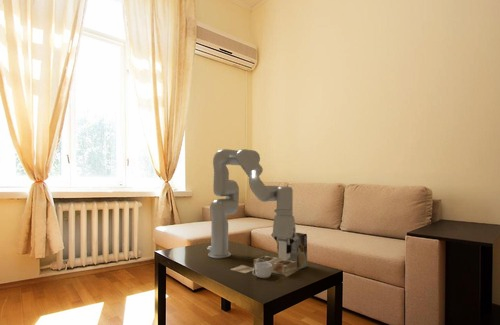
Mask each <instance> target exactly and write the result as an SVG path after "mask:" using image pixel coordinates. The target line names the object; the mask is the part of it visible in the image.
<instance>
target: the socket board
mask: <svg viewBox="0 0 500 325" xmlns="http://www.w3.org/2000/svg"><path fill="white" fill-rule="evenodd" d="M259 262H267V263H271V264H272V273H271V274H277V275H282V276H284V277H287V278H288V277H289V276H291V275H293V274H294V273H296V272H297V271H298V270H297V261H292V260H287V259H280V258H278V257H276V256H275V257H274V256H270V255H265V254H264V255H262V256H260V257H257V258H255V259H253V268H255V264H256V263H259Z"/></svg>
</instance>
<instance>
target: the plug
mask: <svg viewBox="0 0 500 325" xmlns="http://www.w3.org/2000/svg"><path fill="white" fill-rule="evenodd" d="M278 241H279V248H278V249H277V253H278V255H277V256H278V257H277V258H280V259H286V260H287V259H288V258H290V253H289V254H287V245H288V243H287V238H280V237H279V238H278Z"/></svg>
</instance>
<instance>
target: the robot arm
mask: <svg viewBox="0 0 500 325" xmlns="http://www.w3.org/2000/svg"><path fill="white" fill-rule="evenodd" d="M260 161H261V157H260V154H259V152H258V151H256V150H253V149H248V148H247V149H243V148H242V149H240V150H236V149H228V148H223V149H220V150H217V152H215V154H214V156H213V159H212V165H213V185H212V186H213V193H214V195H215V196H216V197H225V198H217V199H213V201H211V203H210V204H209V211H210V219H211V225H210V226H211V228H210V229H211V231H210V235H211V236H210V237H211V238H210V241H211V242H210V245H208V247H207V248H206V250H207V251H209V252H208V253H207V256H208V257H209V258H211V259H225V258H228V257H231V252H230V251H229V221H228V218H227V216H232V215H234V214H236V213H237V212H238V209H239V203H240V202H239V200H240V198H239V196H240V187H239V185H238V183H237V181H235V180H234V179H230V178H229V177H230V173H229V168H228V167H227V165H228V166H229V165H231V166H240V167H241V169H242V170H243V171H244V173H245V174H246V175H247V177H248V185H249V188H250V190H251V191H252V193H253V195H254V196H255V198H257V199H258V200H259V201H261V202H264V203H265V202H266V203H267V202H275V201H276V209H274V213H275V215H274V218H273V225H272V233H271V234H270V236H271V237H272V238H273V239H274V240H275V241H276V243H277V250H278V248H279V241H278V238H279V237H280V238H287V243H288V245H287V254H289V253H291V251H292V244H293V242H294V241H296V240H298V236H297V234H296V233H297V232H296V221H295V216H294V215H293V214H294V212H293V210H294V209H293V208H294V207H293V204H294V203H293V196H294V194H293V188H292V187H291V186H278V185H266V184H264V182H263V180H261V178H260V176H261V175H262V173H263V170H264V169H263V166H261V164H260ZM292 237H294V238H293V239H292Z"/></svg>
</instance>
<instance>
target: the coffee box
mask: <svg viewBox="0 0 500 325" xmlns="http://www.w3.org/2000/svg"><path fill="white" fill-rule="evenodd" d="M296 234H297V236H298V240H296V241H294V242H293V244H292V251H291V253H290V258H288V259H286V260H292V261H297V271H299V270H302V269H304V268H306V267H308V234H307V233H302V232H296ZM293 238H294V237H292V239H293Z"/></svg>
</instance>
